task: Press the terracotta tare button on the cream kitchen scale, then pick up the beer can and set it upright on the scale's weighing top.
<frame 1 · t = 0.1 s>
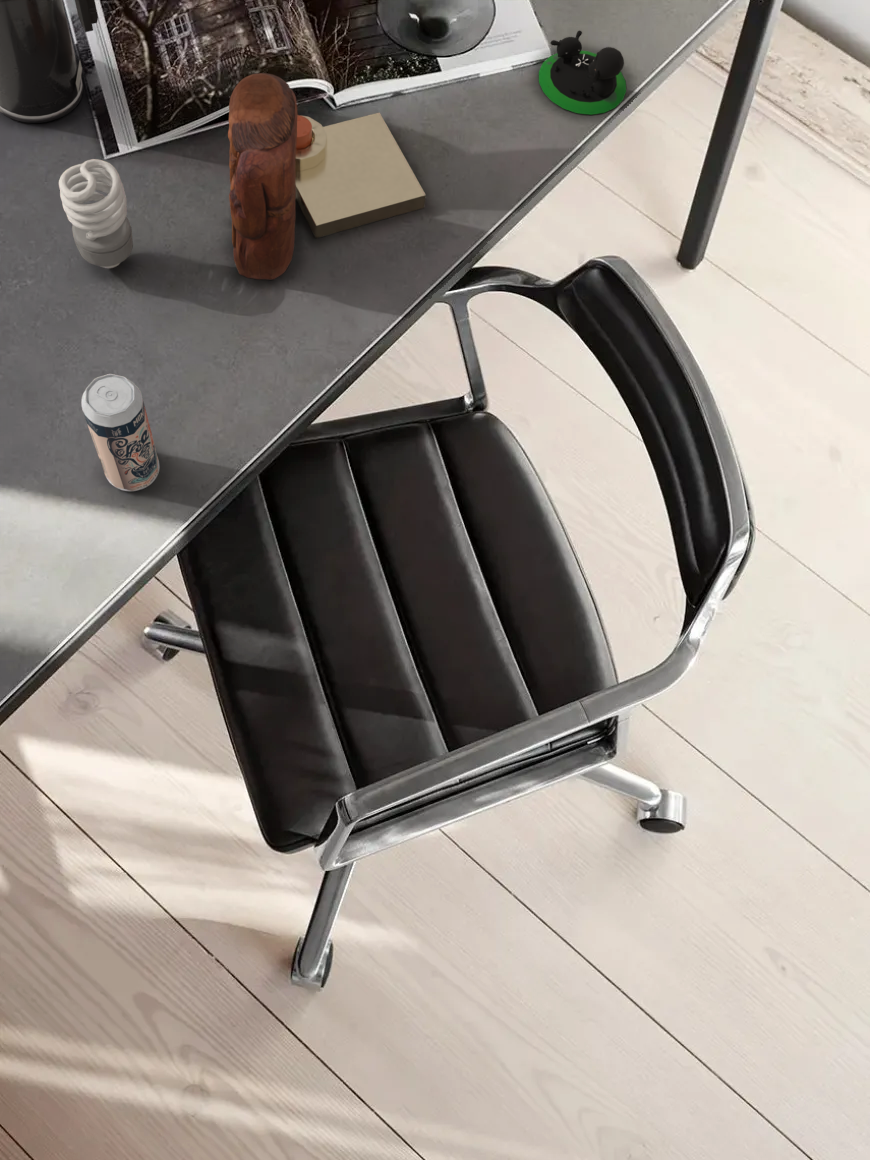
hand: (37, 36, 98), 17 cm above the table, tool pointing down, fingers open, 8 cm apart
tare button: (297, 132, 113), point 4 cm above the table, slide at 0.1 cm
wooden figurine: (266, 240, 112), on the table
light bulb: (110, 265, 109), on the table
beer can: (133, 471, 100), on the table
toy figurine: (582, 83, 126), on the table
scale: (348, 180, 116), on the table
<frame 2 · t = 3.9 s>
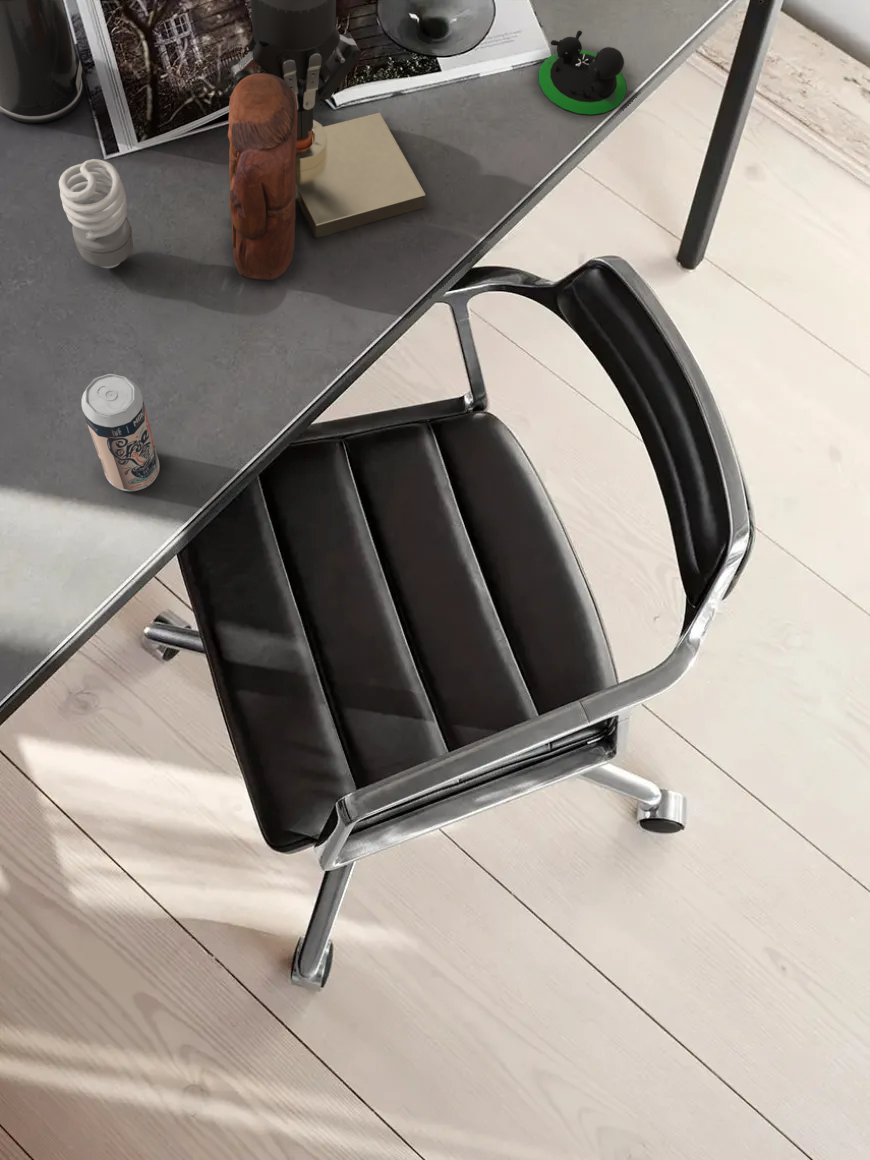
hand: (297, 133, 113), 4 cm above the table, tool pointing down, fingers closed
tare button: (297, 137, 114), point 3 cm above the table, slide at -0.6 cm, touching gripper
everything else where it was.
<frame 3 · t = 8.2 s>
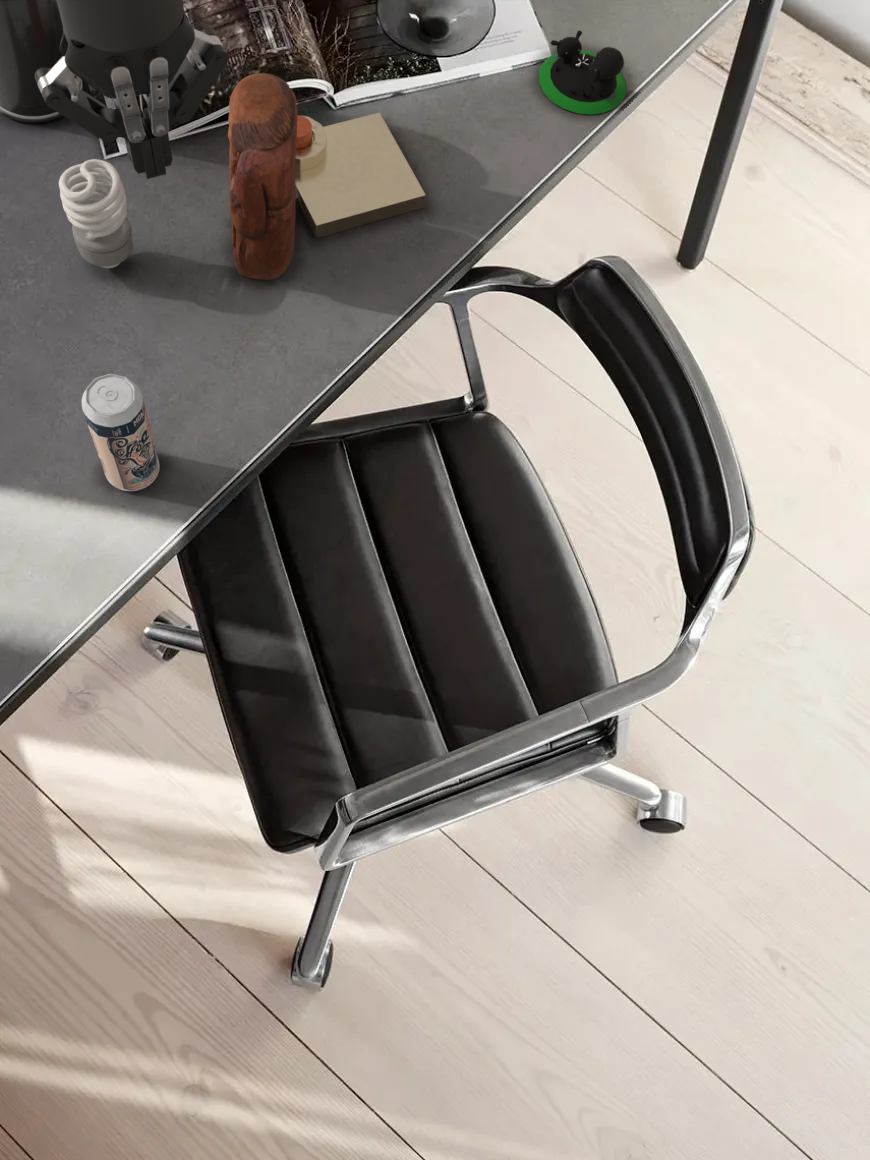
hand: (152, 168, 82), 26 cm above the table, tool pointing down, fingers closed
tare button: (297, 132, 113), point 4 cm above the table, slide at 0.1 cm
everything else where it was.
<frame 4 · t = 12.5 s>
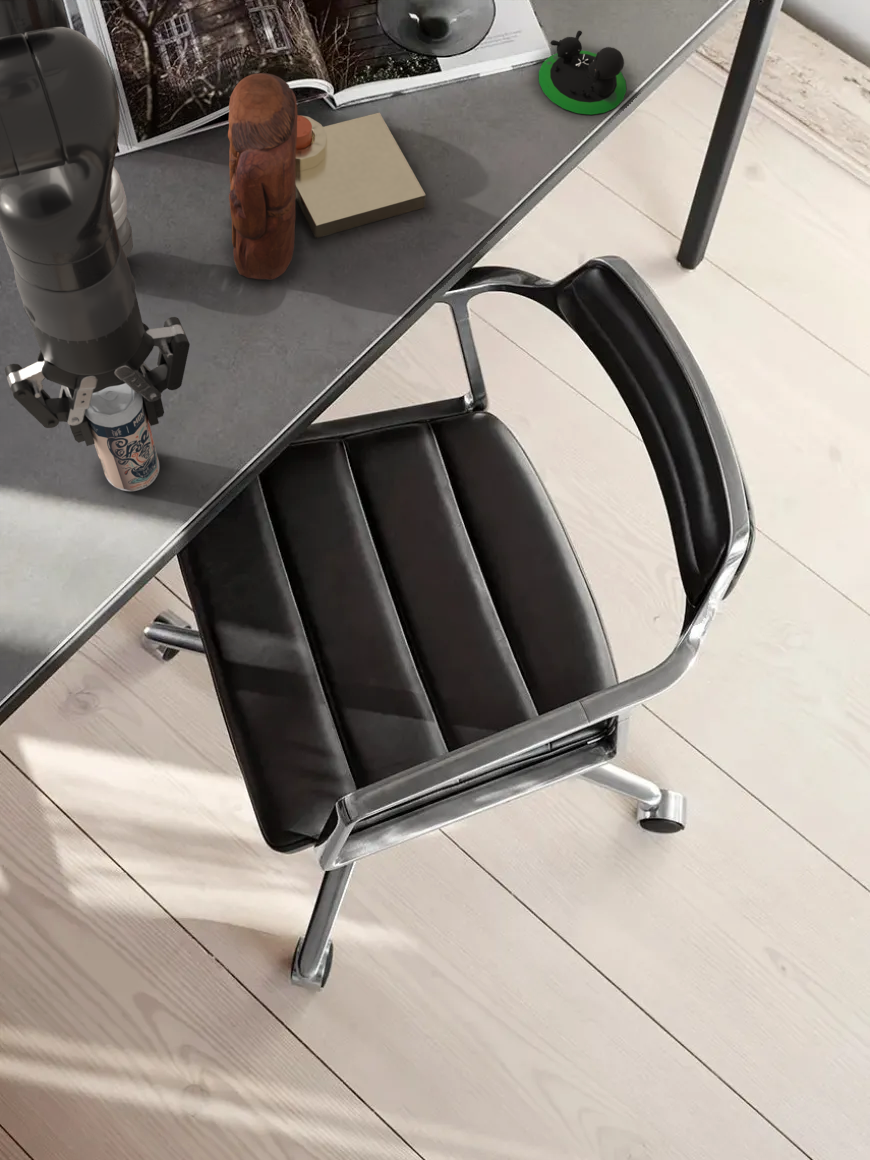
hand: (119, 426, 93), 7 cm above the table, tool pointing down, fingers closed on beer can, 4 cm apart
beer can: (133, 471, 100), on the table, touching gripper
everything else where it was.
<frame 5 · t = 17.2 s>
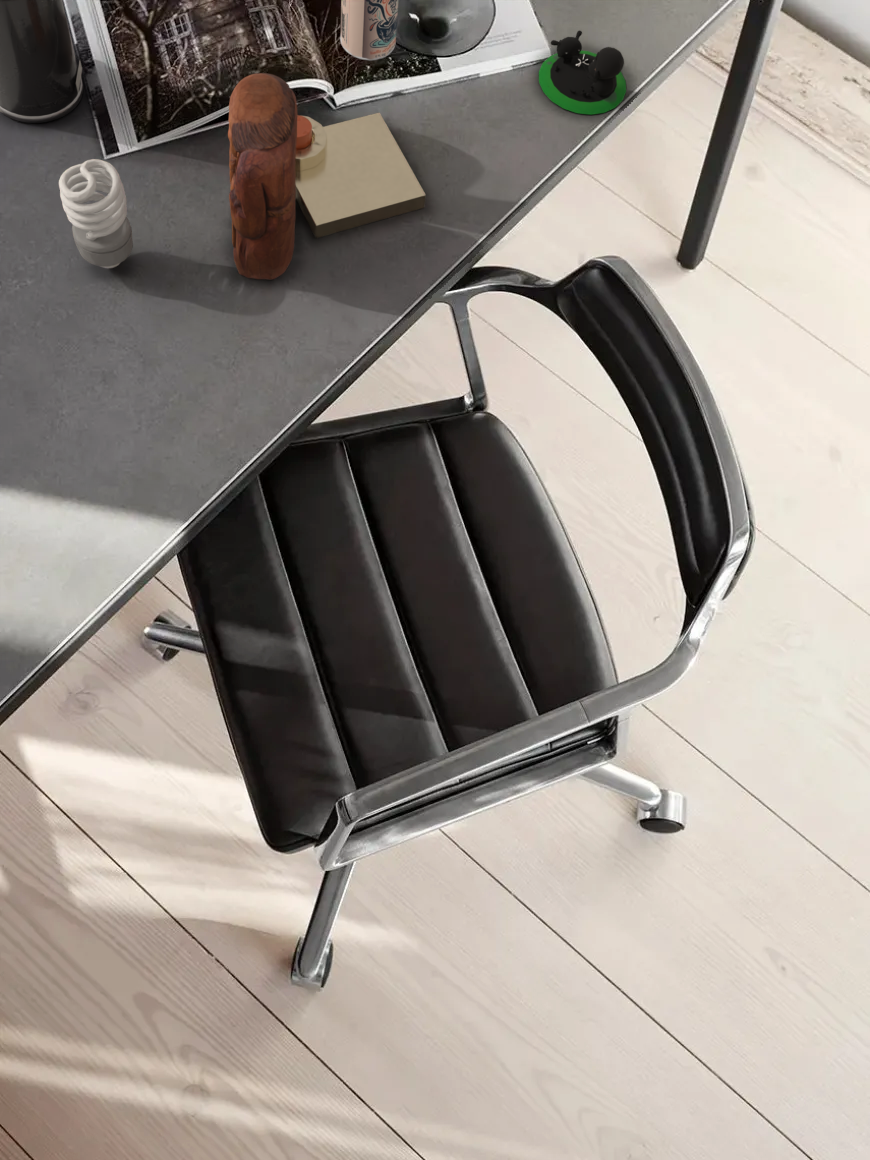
beer can: (367, 47, 97), point 20 cm above the table, touching gripper
everything else where it was.
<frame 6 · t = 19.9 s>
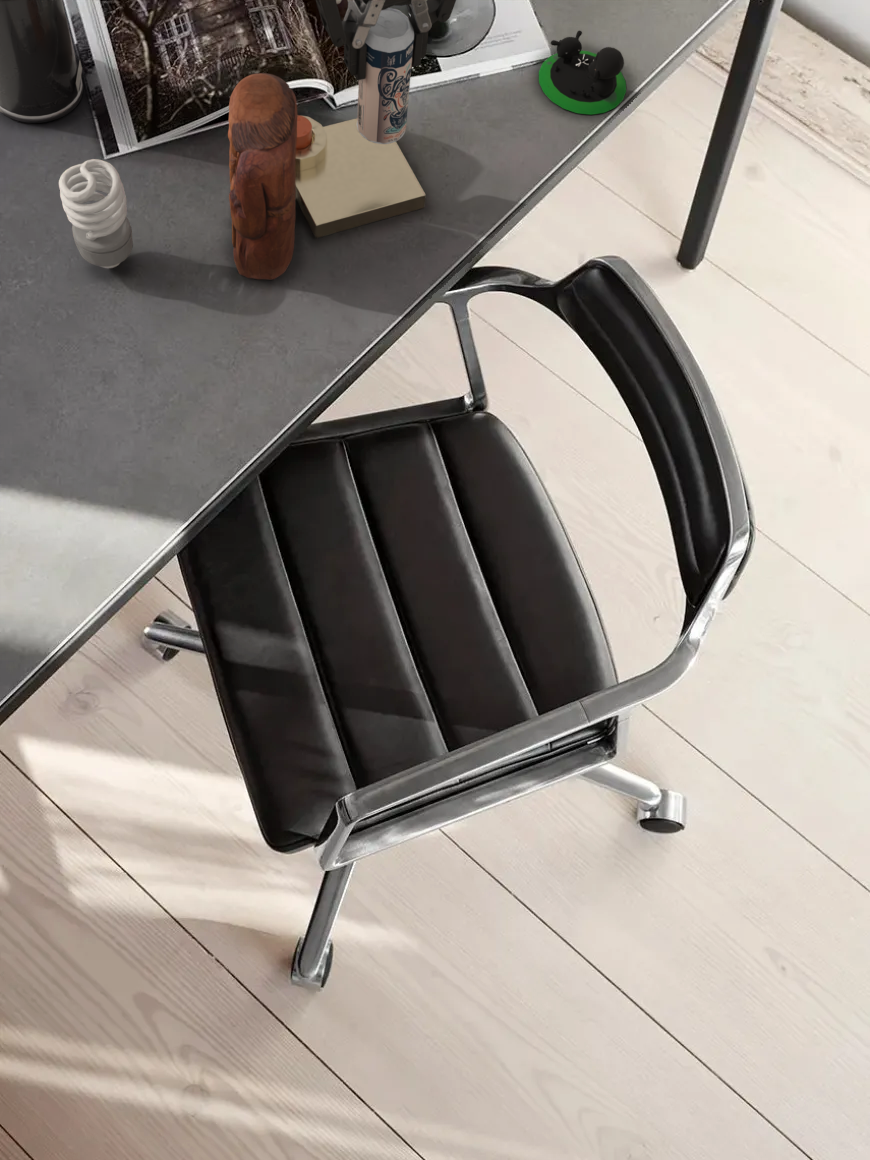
hand: (384, 66, 102), 15 cm above the table, tool pointing down, fingers closed on beer can, 4 cm apart
beer can: (381, 131, 109), point 8 cm above the table, touching gripper
everything else where it was.
when the fingers open (9 cm above the table, at t = 22.0 s): beer can stays where it is, resting on scale.
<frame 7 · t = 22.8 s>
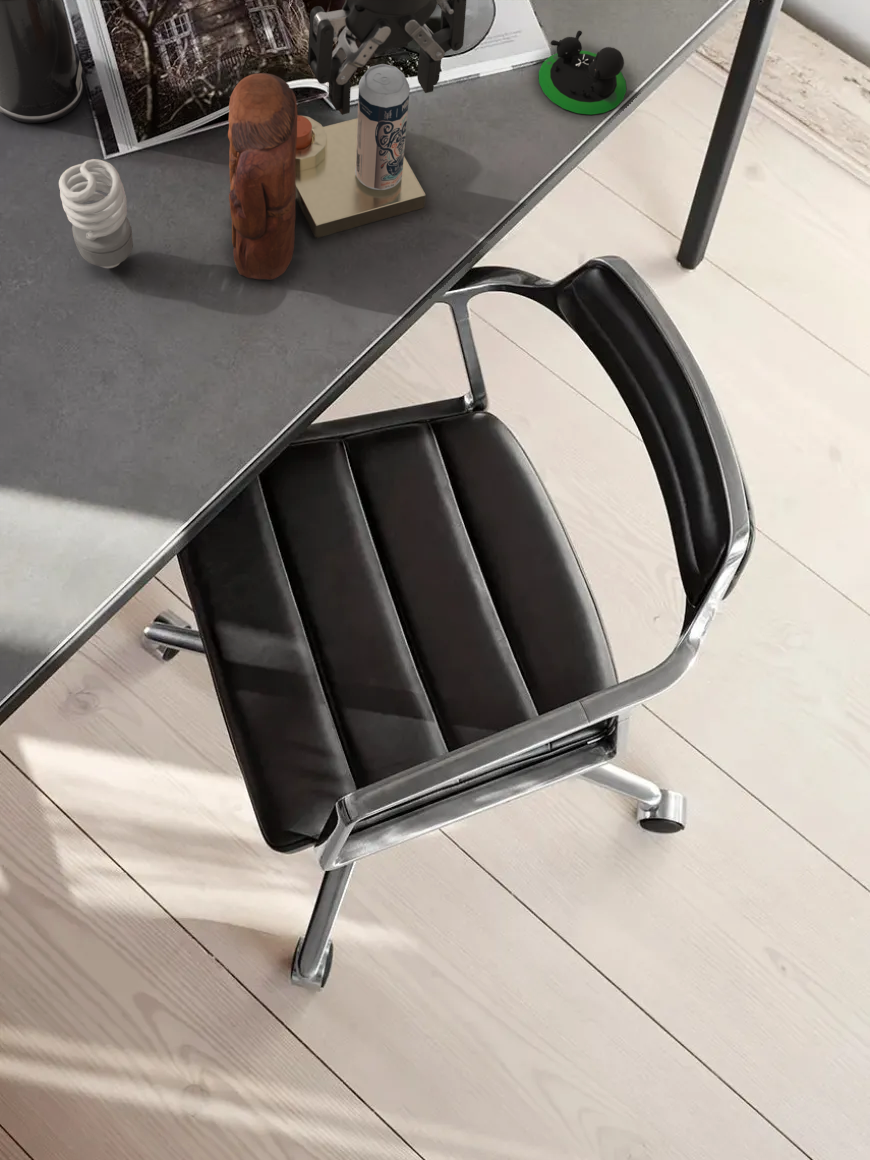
hand: (383, 97, 106), 12 cm above the table, tool pointing down, fingers open, 8 cm apart
beer can: (378, 177, 115), point 2 cm above the table, touching scale
everything else where it was.
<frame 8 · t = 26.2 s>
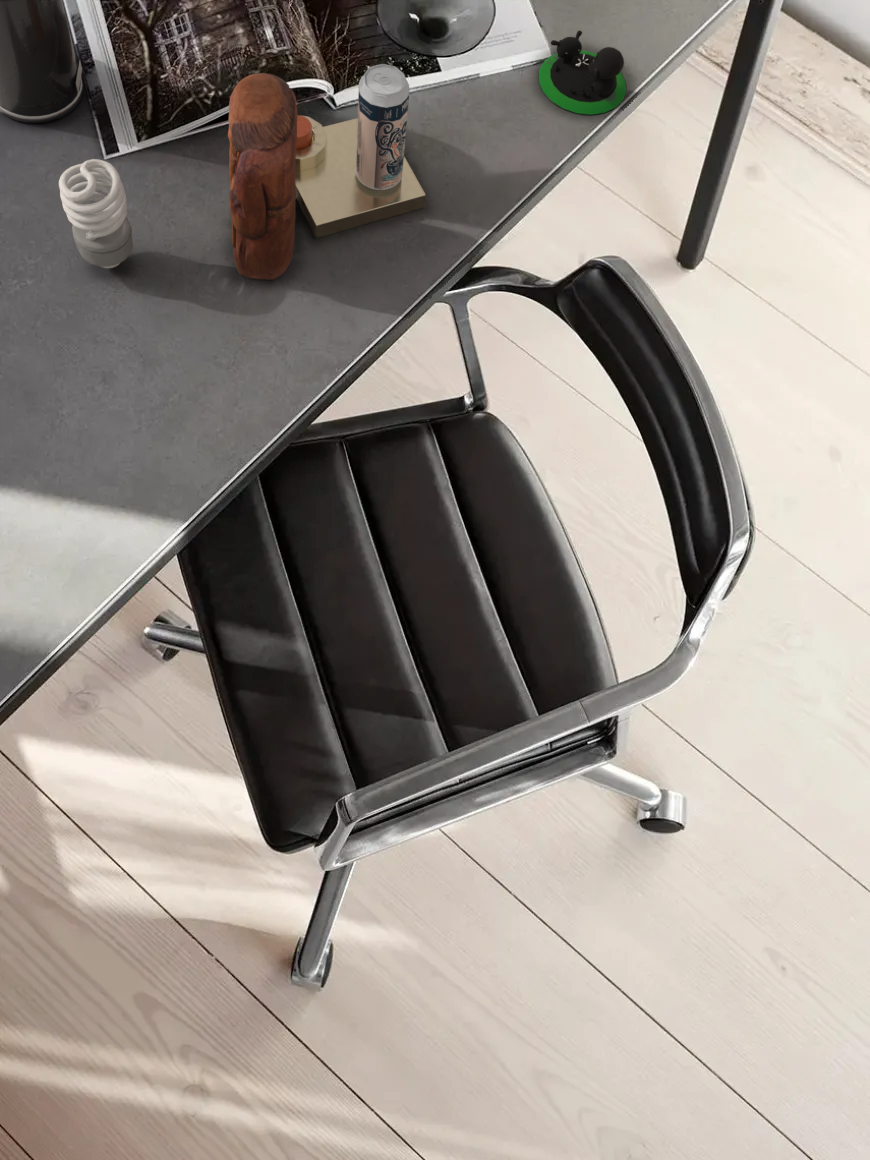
nothing on the table moved.
at the end: tare button pushed in 1.0 cm at the most during the clip, back to where it started at the end; beer can inside the target area on the scale (3.2 cm from its centre), point 1.7 cm above the scale's base; beer can touching scale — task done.
